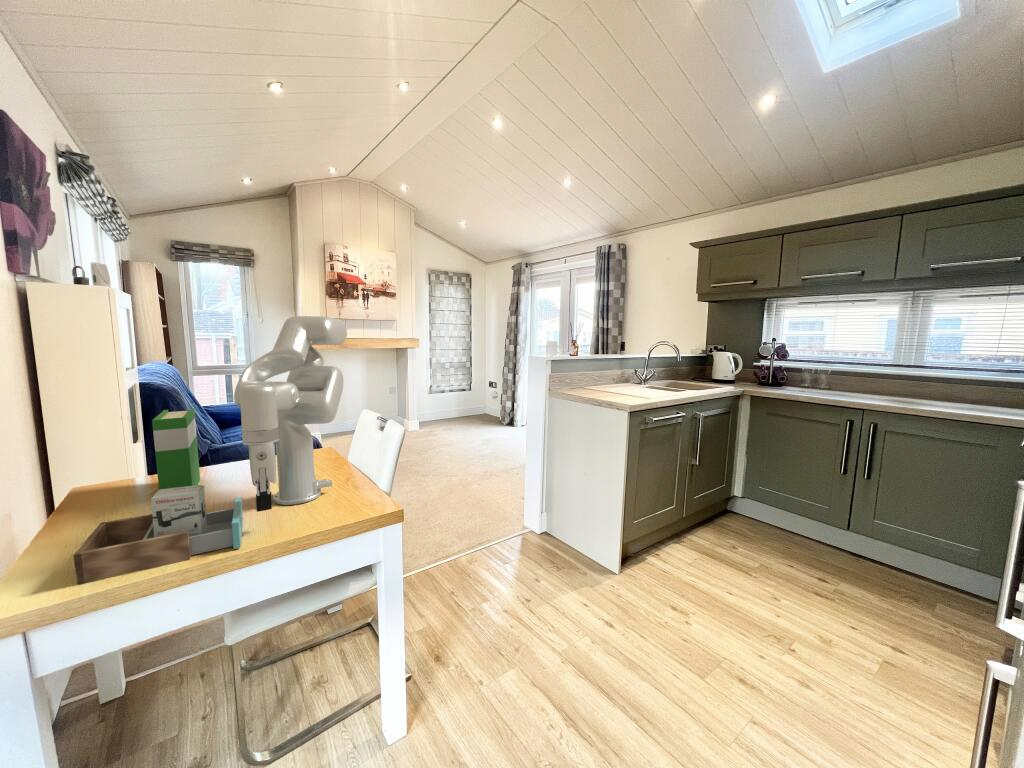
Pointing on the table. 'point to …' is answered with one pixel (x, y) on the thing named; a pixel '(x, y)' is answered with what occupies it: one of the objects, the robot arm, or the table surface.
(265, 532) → the table surface
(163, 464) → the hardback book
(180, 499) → the ink box
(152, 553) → the storage unit
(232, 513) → the tray
